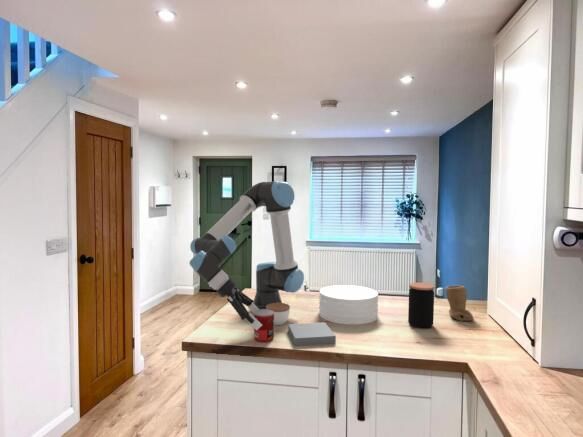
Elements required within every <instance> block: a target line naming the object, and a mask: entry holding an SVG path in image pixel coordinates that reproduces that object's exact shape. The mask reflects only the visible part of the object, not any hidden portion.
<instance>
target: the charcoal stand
mask: <svg viewBox="0 0 583 437" xmlns="http://www.w3.org/2000/svg"><path fill="white" fill-rule="evenodd" d="M287 328H288V330H287V331H288V334H289V336H290V338H291V339H292V342H293V344H294V347H298V346H299V347H300V346H303V347H304V346H317V345H319V346H320V345H333V344H334V345H335V344H336V342H337V340H336V339H337V337H336V336H337V335H336V334H335V333H334V332H333V330H332V329H331V328H330V327H329V325H327V323H326V321H324V322H303V323H289V324H288V327H287Z"/></svg>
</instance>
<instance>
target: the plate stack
mask: <svg viewBox="0 0 583 437" xmlns="http://www.w3.org/2000/svg"><path fill="white" fill-rule="evenodd" d="M318 299H319V303H318V304H319V306H318V309H319V311H318V315H319V317H321V318H322V319H324V320H325V321H328V322H332V323H336V324H341V325H366V324H369V323H373V322H375V321H376V320H377V319H378V317H379V316H378V313H379V312H378V310H379V304H378V303H379V292H377V290H375V289H373V288H370V287H365V286H362V285H361V286H360V285H353V284H350V285H349V284H336V285H328V286H324V287H322V288H320V289H319V297H318Z"/></svg>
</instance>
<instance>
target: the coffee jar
mask: <svg viewBox="0 0 583 437" xmlns="http://www.w3.org/2000/svg"><path fill="white" fill-rule="evenodd" d="M408 286H409V289H408V310H407V311H408V313H407V314H408V316H407V318H408V320H407V322H408V324H409V325H410V326H411V327H413V328H417V329H431V328H432V327H433V325H434V315H435V314H434V313H435V310H434V309H435V291H434V290H435V285H433V284H430V283H426V282H410V283H409V285H408Z"/></svg>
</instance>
